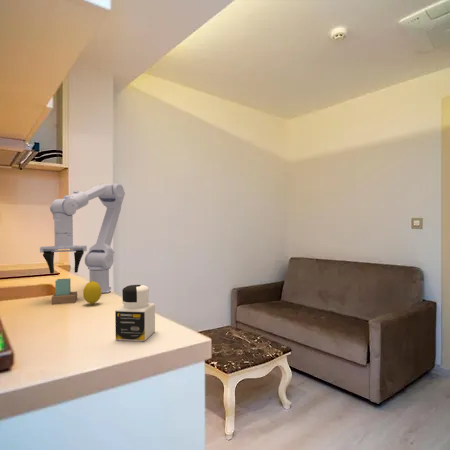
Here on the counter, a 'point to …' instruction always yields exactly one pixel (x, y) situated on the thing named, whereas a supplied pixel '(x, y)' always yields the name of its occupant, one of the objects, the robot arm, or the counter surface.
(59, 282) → the teal block
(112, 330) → the counter surface
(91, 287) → the lemon
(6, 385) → the counter surface
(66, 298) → the walnut block
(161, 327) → the counter surface
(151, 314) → the medicine bottle
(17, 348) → the counter surface
